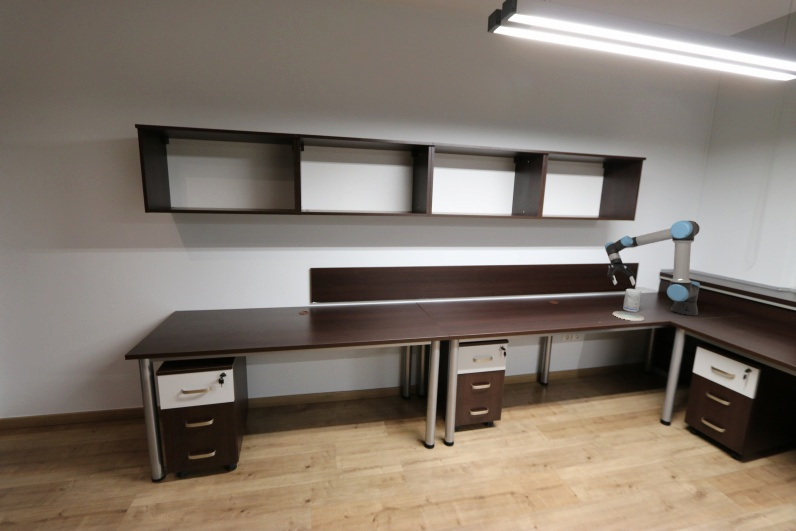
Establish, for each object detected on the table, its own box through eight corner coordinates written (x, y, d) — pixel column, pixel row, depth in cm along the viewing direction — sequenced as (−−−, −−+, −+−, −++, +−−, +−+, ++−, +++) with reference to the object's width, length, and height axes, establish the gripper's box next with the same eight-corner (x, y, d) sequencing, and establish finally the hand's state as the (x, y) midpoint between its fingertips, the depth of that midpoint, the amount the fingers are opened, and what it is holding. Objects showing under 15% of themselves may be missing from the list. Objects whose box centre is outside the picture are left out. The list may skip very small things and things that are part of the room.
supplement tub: (625, 307, 270) (628, 287, 267) (640, 310, 263) (643, 290, 260) (620, 309, 264) (623, 289, 261) (635, 313, 257) (638, 292, 254)
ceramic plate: (625, 312, 259) (625, 310, 258) (650, 320, 242) (650, 318, 242) (606, 314, 252) (606, 312, 252) (631, 322, 236) (631, 320, 235)
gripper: (629, 263, 286) (638, 287, 274) (597, 262, 285) (605, 286, 273) (634, 258, 280) (644, 282, 268) (601, 257, 279) (610, 281, 267)
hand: (624, 284), depth 271 cm, fingers open, 13 cm apart
